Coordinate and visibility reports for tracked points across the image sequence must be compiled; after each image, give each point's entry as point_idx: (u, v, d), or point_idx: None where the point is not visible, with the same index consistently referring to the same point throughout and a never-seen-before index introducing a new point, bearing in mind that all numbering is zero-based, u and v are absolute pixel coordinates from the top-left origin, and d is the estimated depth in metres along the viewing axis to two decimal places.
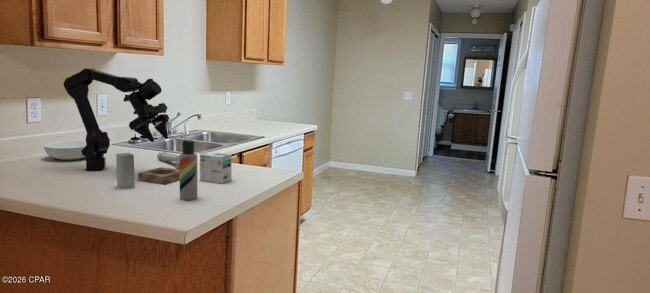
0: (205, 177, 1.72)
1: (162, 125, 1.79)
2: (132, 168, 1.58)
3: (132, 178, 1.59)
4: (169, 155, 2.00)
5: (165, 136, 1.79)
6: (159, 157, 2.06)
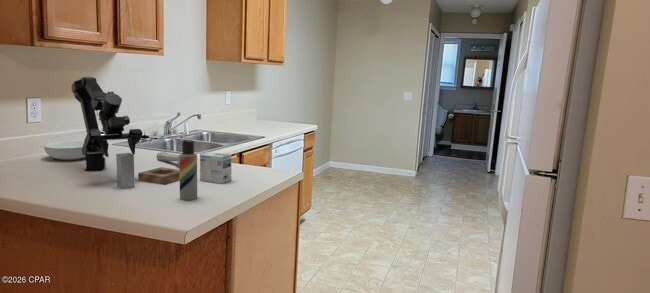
0: (205, 177, 1.72)
1: (131, 140, 1.66)
2: (132, 168, 1.58)
3: (132, 178, 1.59)
4: (170, 155, 2.00)
5: (132, 152, 1.64)
6: (159, 157, 2.06)
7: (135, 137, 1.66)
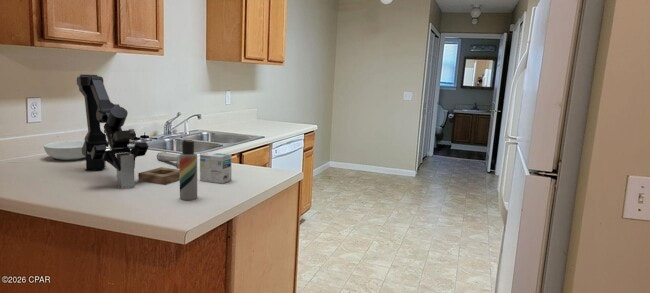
0: (205, 177, 1.72)
1: None
2: (132, 168, 1.58)
3: (132, 178, 1.58)
4: (169, 155, 2.00)
5: None
6: (159, 157, 2.06)
7: (135, 151, 1.61)
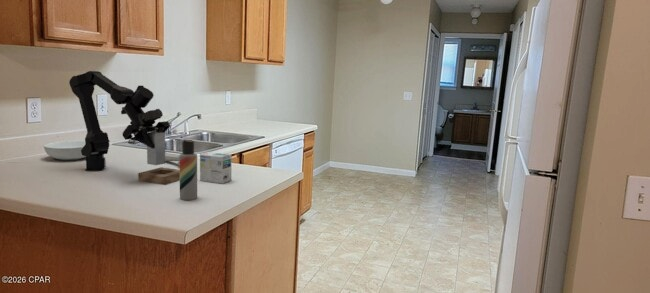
0: (205, 177, 1.72)
1: None
2: (163, 145, 1.68)
3: (163, 155, 1.68)
4: (170, 155, 2.00)
5: None
6: None
7: (161, 130, 1.71)
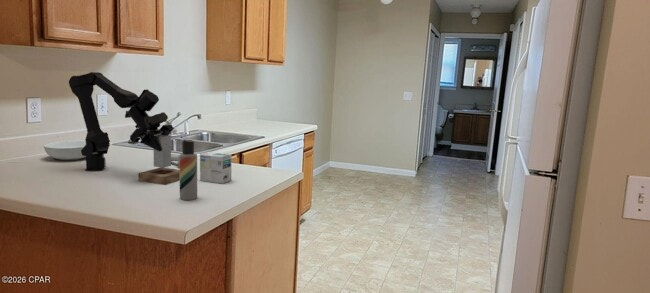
0: (205, 177, 1.72)
1: None
2: (169, 148, 1.71)
3: (169, 157, 1.72)
4: None
5: None
6: None
7: (166, 133, 1.74)
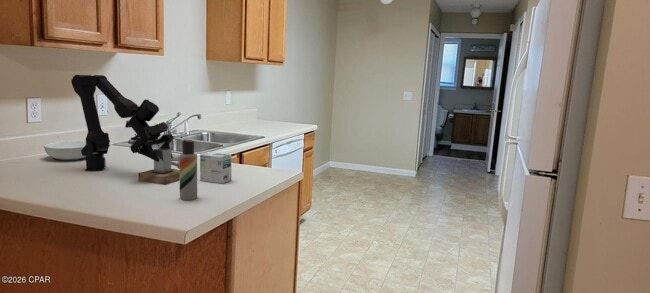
0: (205, 177, 1.72)
1: (165, 145, 1.75)
2: (170, 161, 1.72)
3: (170, 171, 1.73)
4: None
5: None
6: None
7: (169, 142, 1.76)
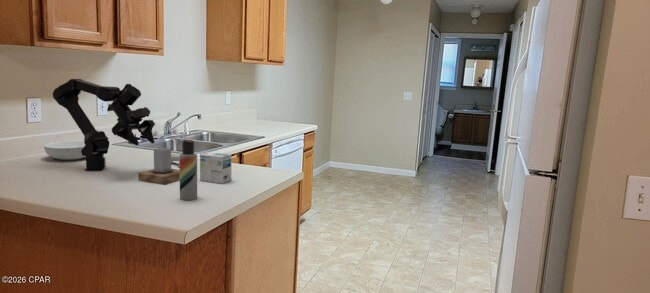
0: (205, 177, 1.72)
1: (147, 130, 1.78)
2: (170, 161, 1.72)
3: (170, 171, 1.73)
4: None
5: (151, 141, 1.77)
6: None
7: (151, 127, 1.79)
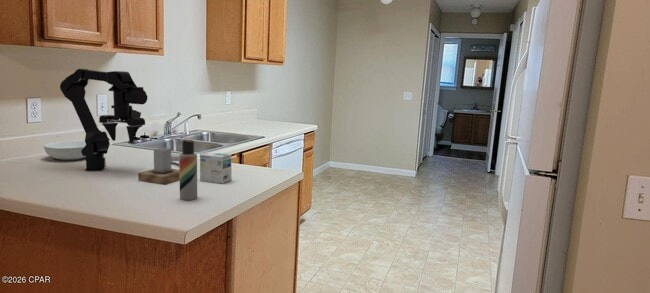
0: (205, 177, 1.72)
1: (114, 126, 1.80)
2: (170, 161, 1.72)
3: (170, 171, 1.73)
4: None
5: (114, 138, 1.79)
6: None
7: None
